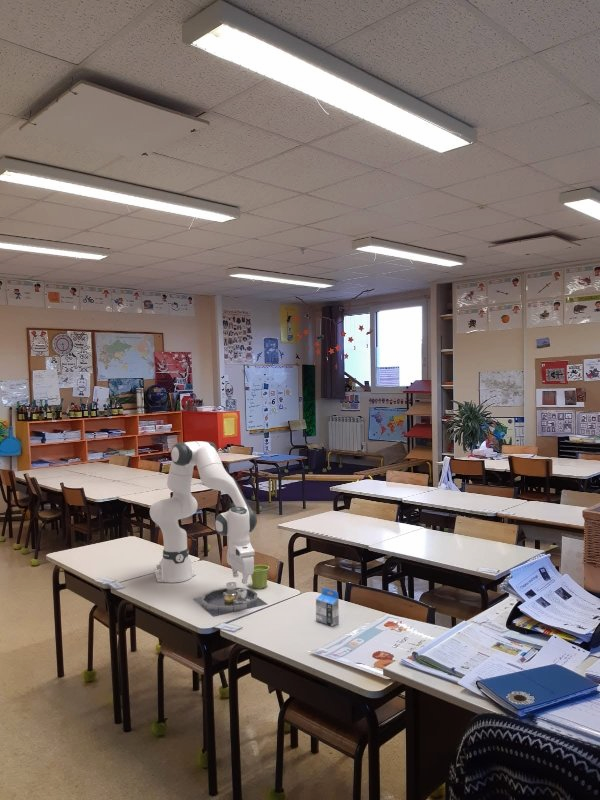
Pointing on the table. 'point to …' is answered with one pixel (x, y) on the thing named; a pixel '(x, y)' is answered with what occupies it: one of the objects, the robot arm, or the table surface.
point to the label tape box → (327, 607)
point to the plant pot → (260, 576)
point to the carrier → (227, 600)
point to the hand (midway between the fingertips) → (240, 580)
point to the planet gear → (241, 597)
